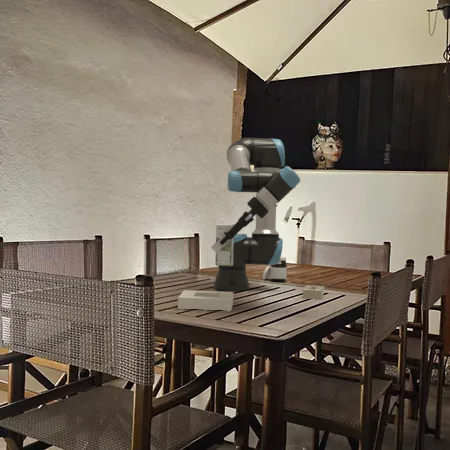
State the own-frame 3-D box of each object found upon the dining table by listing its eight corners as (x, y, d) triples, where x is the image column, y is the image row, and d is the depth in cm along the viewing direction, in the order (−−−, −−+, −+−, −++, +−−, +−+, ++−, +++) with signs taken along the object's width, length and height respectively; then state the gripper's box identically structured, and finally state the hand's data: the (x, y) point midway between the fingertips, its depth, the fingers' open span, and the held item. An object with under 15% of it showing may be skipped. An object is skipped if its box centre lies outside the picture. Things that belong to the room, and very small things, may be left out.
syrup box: (233, 264, 192) (234, 223, 192) (231, 266, 186) (232, 224, 186) (217, 264, 193) (218, 223, 193) (215, 266, 187) (215, 223, 187)
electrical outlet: (324, 284, 230) (321, 290, 212) (323, 293, 230) (321, 300, 212) (307, 283, 231) (303, 289, 214) (306, 292, 231) (302, 299, 214)
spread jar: (287, 283, 256) (288, 258, 256) (263, 282, 256) (263, 257, 256) (284, 279, 268) (285, 256, 268) (261, 278, 268) (262, 255, 268)
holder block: (177, 309, 183) (178, 297, 183) (183, 301, 199) (184, 290, 199) (231, 311, 182) (231, 299, 182) (233, 303, 198) (233, 292, 198)
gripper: (271, 211, 179) (220, 260, 180) (268, 210, 198) (222, 254, 199) (255, 195, 179) (205, 243, 180) (253, 196, 198) (208, 239, 199)
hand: (214, 249), depth 190 cm, fingers closed on syrup box, 6 cm apart
